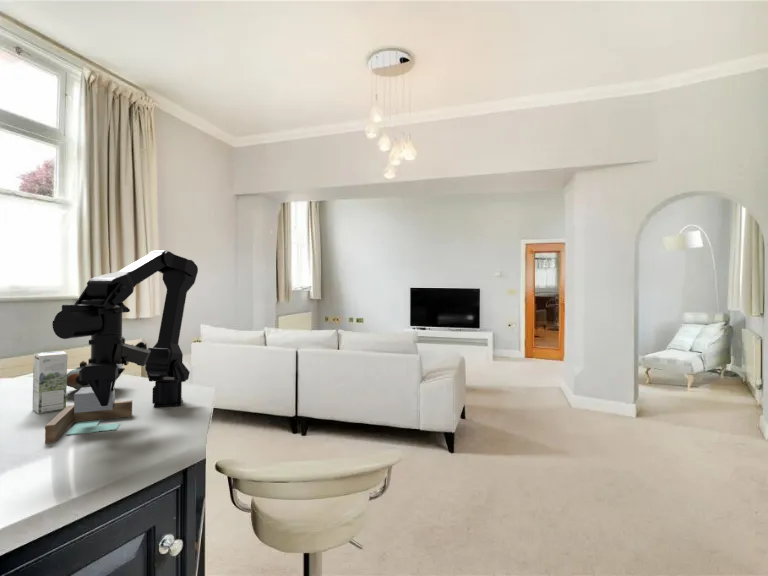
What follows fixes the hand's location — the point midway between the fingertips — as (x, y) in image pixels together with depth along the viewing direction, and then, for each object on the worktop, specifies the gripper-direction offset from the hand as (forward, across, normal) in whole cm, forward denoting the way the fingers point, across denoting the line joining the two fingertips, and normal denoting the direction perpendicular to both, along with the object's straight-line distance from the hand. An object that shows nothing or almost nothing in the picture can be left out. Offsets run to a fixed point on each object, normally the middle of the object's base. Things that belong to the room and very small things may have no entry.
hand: (105, 404), depth 93 cm
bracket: (+1, +2, +2) cm, 3 cm away
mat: (+5, +2, +2) cm, 6 cm away
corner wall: (+5, +1, +3) cm, 6 cm away
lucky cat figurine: (+6, +39, +10) cm, 41 cm away
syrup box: (+6, +21, +16) cm, 27 cm away
